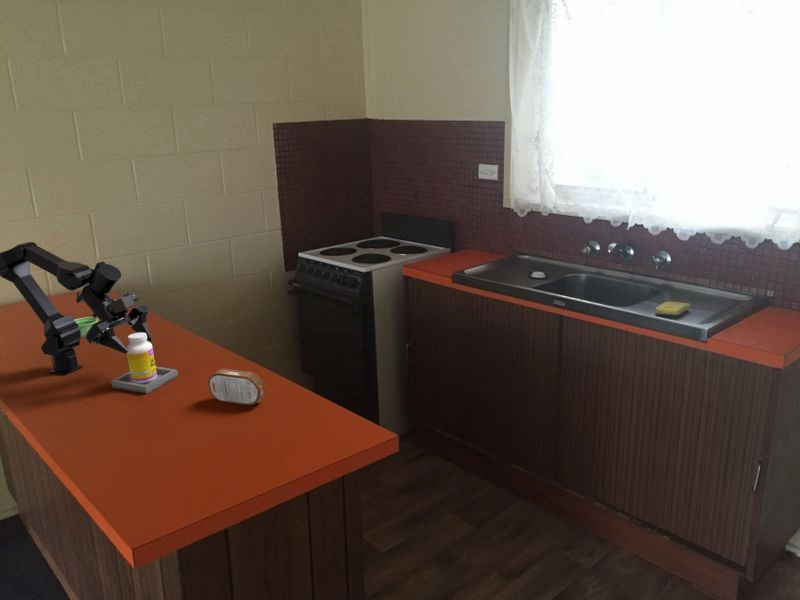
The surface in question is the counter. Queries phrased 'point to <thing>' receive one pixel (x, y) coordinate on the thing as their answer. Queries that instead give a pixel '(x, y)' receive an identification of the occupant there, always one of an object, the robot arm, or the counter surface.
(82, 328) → the ramekin
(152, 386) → the tray
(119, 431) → the counter surface
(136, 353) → the supplement bottle
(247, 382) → the tin
